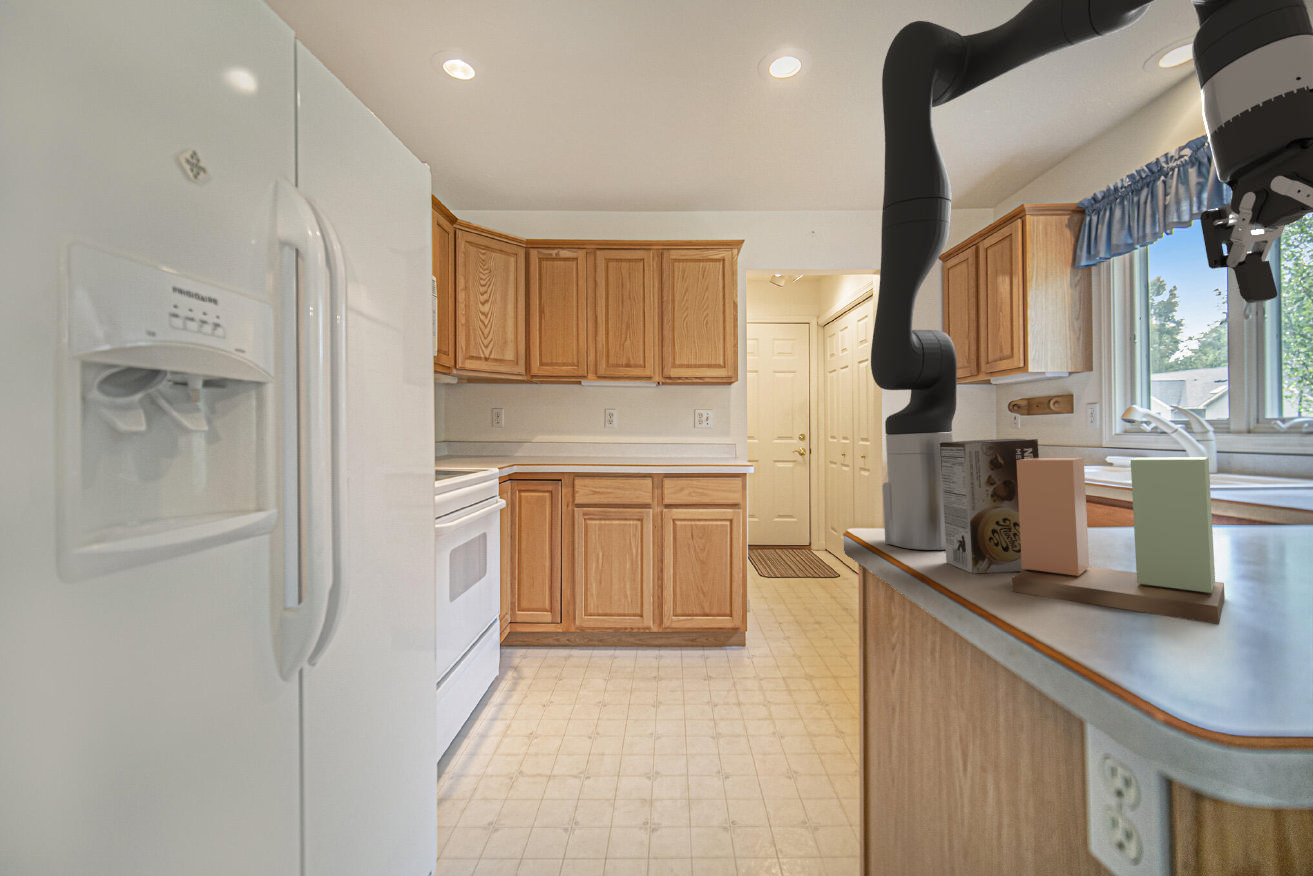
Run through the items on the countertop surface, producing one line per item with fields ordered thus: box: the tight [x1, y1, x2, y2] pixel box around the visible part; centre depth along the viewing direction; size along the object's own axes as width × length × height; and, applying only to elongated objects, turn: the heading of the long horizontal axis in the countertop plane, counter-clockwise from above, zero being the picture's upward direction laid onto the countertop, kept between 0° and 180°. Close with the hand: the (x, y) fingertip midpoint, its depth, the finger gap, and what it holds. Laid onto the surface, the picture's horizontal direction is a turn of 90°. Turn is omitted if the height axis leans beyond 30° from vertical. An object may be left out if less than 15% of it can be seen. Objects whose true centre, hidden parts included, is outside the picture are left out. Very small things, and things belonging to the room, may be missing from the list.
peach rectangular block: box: [1017, 457, 1090, 576], centre depth 58 cm, size 5×5×12 cm
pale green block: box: [1130, 456, 1216, 593], centre depth 51 cm, size 5×5×12 cm
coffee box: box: [940, 438, 1040, 574], centre depth 67 cm, size 9×6×16 cm
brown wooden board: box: [1011, 566, 1226, 625], centre depth 54 cm, size 15×10×2 cm, turn 41°
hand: (1312, 283), depth 46 cm, fingers open, 8 cm apart
